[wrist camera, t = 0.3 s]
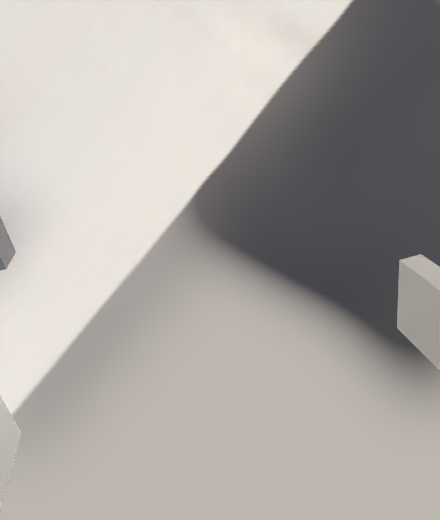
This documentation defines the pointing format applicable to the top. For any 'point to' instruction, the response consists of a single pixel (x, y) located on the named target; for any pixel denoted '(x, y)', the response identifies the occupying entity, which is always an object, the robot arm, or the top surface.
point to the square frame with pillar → (5, 247)
